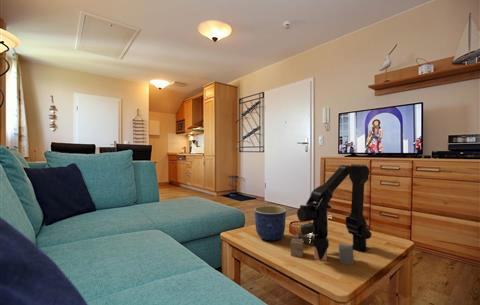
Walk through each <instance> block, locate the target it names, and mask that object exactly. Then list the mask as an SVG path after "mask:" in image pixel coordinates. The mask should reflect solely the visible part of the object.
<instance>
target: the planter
mask: <svg viewBox="0 0 480 305" xmlns="http://www.w3.org/2000/svg"><path fill="white" fill-rule="evenodd" d="M286 218H287V209H286V208H285V207H282V206H277V205H261V206H260V205H259V206H256V207H255V208H254V221H255V222H254V223H255V230H256V234H257V236H258V237H260V238H261V239H263V240H264V241H277V240H279V239H281V238H282V237H283V236H284V233H285V232H286V231H285V230H286Z"/></svg>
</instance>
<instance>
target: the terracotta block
mask: <svg viewBox="0 0 480 305" xmlns="http://www.w3.org/2000/svg"><path fill="white" fill-rule="evenodd" d="M313 247H314V249H313V252H314V260H318V261H325V262H327V261H328V255H327V254H328V249H327V250H326V252H325V254H324V256H323V258H322V260H321V259H319V256H318V252H317V248H316V247H315V246H313Z"/></svg>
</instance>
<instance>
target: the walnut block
mask: <svg viewBox="0 0 480 305" xmlns="http://www.w3.org/2000/svg"><path fill="white" fill-rule="evenodd" d="M290 256H291V257H298V258H303V257H304V242H303V240H302V239H294V237H293V238H291V240H290Z"/></svg>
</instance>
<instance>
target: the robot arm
mask: <svg viewBox="0 0 480 305" xmlns="http://www.w3.org/2000/svg"><path fill="white" fill-rule="evenodd" d="M348 176H349V180H350V181H351V185H352V186H351V187H352V188H351V205H350V206H351V207H350V214H349V215H348V216H346V217H345V223H344V224H345V227H346V230H347V233H349V234H350V235H352V244H351V245H352V248H353V250H355V251H357V252H358V251H359V252H361V253H365V252H366V251H368V250H369V249H370V247H369V246H367V240H369V239H371V238H372V234H373V233H372V232H371V231H370V230H369V228H368V227H367V220H366V218H365V217H364V199H365V198H364V197H365V196H364V195H365V184H366V182H368V180H369V176H370V168H369V167H368V166H367V165H366V164H365V165H364V164H351V165H350V164H349V165H348V164H347V165H345V164H341V165H339V166H338V169H336V171H335V172H334V173H333V174H332V175H331V176H330V177H329V179H327V181H326V182H324V184H322V185H320V186H318V187H316V188H315V189H313V190H312V191H311V192H310V195H309V198H308V200H307V201H306V203H305V205H304V204H301V205H300V206H299V208H298V209H297V212H296V215H297V219H298V220H299V222H302V223H304V224H301V225H300V228H299V229H300V230H301V233H302V235H306V234H309V233H312V235H313V236H312V243H311V245H312V247H314V246H315V247H316V248H317V252H318V256H319V259H321V260H320V261H323V260H322V258H323V256H324V254H325V252H326V250H327V251H328V248H329V244H330V243H329V238H328V236H329V232H328V230H329V228H328V226H329V224H328V209H332V206H331V205H330V204H329V203H330V201H331V199H332V198H333V195H334V194H333V193H334V192H335V190H336V189H337V188H338V187H339V186H340V185H341V184H342V182H343V181H344V180H346V178H347V177H348ZM305 222H308V223H305ZM309 222H310V223H309Z"/></svg>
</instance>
